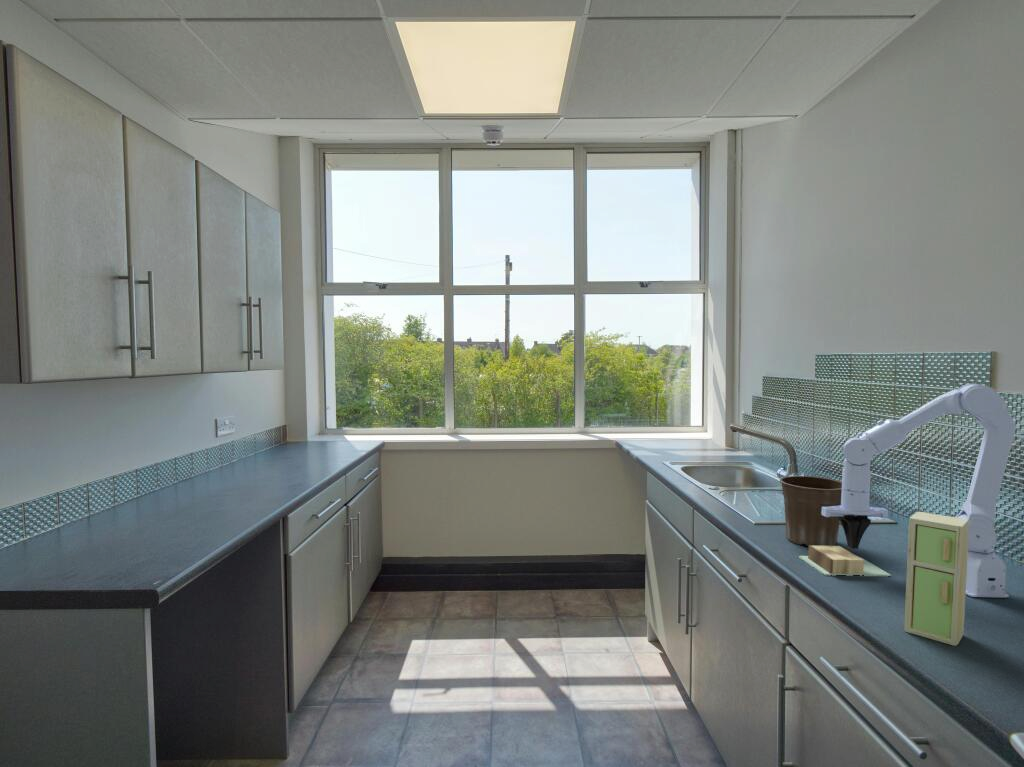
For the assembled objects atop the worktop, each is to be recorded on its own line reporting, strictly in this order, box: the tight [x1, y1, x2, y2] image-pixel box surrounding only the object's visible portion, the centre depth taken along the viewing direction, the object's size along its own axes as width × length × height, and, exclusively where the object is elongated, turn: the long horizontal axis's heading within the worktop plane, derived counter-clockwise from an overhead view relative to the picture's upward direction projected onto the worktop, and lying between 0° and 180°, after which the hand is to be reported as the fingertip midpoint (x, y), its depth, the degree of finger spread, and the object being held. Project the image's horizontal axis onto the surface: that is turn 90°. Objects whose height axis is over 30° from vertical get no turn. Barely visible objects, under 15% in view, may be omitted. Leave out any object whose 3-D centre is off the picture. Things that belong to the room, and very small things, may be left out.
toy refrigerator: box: [904, 511, 969, 647], centre depth 107 cm, size 8×7×21 cm
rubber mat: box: [798, 555, 892, 577], centre depth 142 cm, size 12×15×1 cm
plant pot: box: [779, 475, 842, 548], centre depth 160 cm, size 16×16×16 cm
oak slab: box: [807, 545, 865, 574], centre depth 141 cm, size 10×3×8 cm
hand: (852, 547), depth 141 cm, fingers closed
